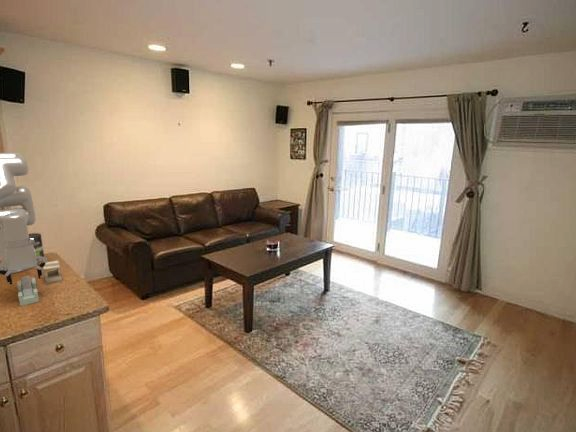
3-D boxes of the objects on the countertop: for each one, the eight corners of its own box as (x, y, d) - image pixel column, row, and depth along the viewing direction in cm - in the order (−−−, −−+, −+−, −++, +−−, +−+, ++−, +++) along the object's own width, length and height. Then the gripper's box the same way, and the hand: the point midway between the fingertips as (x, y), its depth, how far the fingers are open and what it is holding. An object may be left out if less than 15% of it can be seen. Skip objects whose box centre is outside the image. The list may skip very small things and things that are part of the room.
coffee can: (47, 260, 182) (43, 235, 178) (23, 265, 174) (19, 240, 171) (42, 255, 188) (38, 231, 185) (20, 260, 181) (15, 235, 177)
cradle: (19, 290, 147) (17, 281, 146) (36, 286, 151) (34, 277, 150) (20, 306, 134) (18, 296, 133) (39, 301, 138) (37, 291, 137)
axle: (22, 283, 149) (21, 277, 148) (31, 281, 150) (29, 275, 150) (24, 296, 137) (22, 290, 136) (33, 294, 139) (31, 288, 138)
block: (44, 277, 161) (42, 262, 159) (59, 273, 165) (57, 259, 163) (46, 284, 153) (43, 269, 151) (62, 280, 157) (59, 266, 155)
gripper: (43, 236, 143) (49, 272, 148) (-10, 244, 133) (-1, 282, 137) (44, 241, 138) (51, 278, 143) (-10, 250, 127) (-2, 289, 132)
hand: (25, 280), depth 140 cm, fingers open, 9 cm apart
